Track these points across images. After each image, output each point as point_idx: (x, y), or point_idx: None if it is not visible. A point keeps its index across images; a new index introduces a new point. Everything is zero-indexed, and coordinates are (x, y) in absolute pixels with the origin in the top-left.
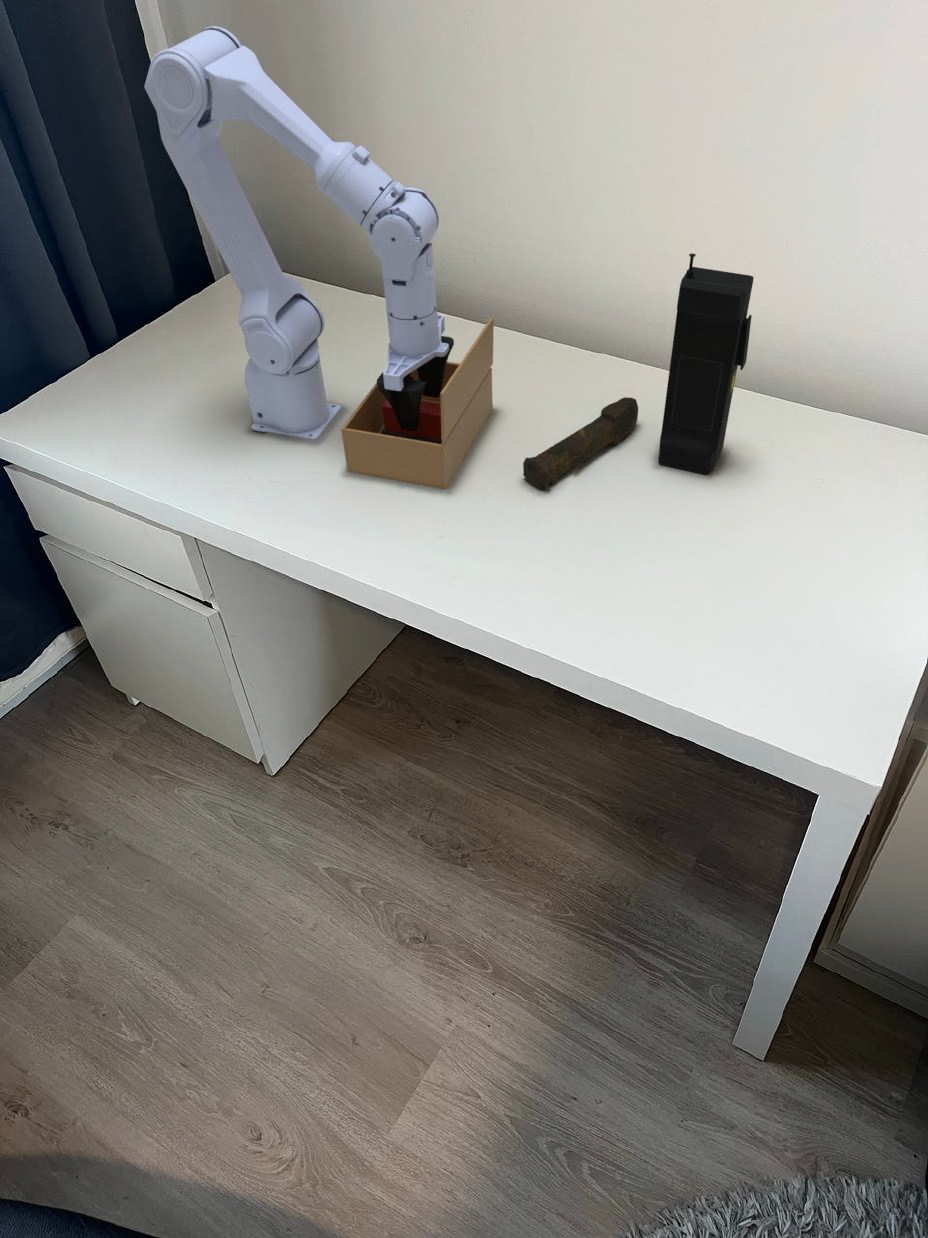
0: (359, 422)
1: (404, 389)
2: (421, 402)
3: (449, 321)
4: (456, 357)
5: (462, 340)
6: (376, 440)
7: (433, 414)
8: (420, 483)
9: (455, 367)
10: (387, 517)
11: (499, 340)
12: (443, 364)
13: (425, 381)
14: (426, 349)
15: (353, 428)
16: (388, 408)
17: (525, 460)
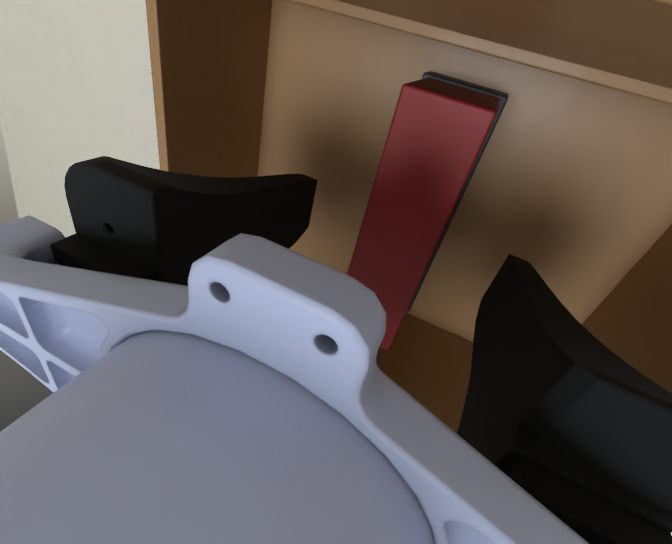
0: (458, 406)
1: (668, 515)
2: (370, 243)
3: (12, 147)
4: (95, 125)
5: (44, 115)
6: None
7: (453, 203)
8: None
9: (175, 127)
10: None
11: (3, 17)
12: (234, 195)
13: (281, 238)
14: (385, 525)
15: None
16: (395, 334)
17: None
